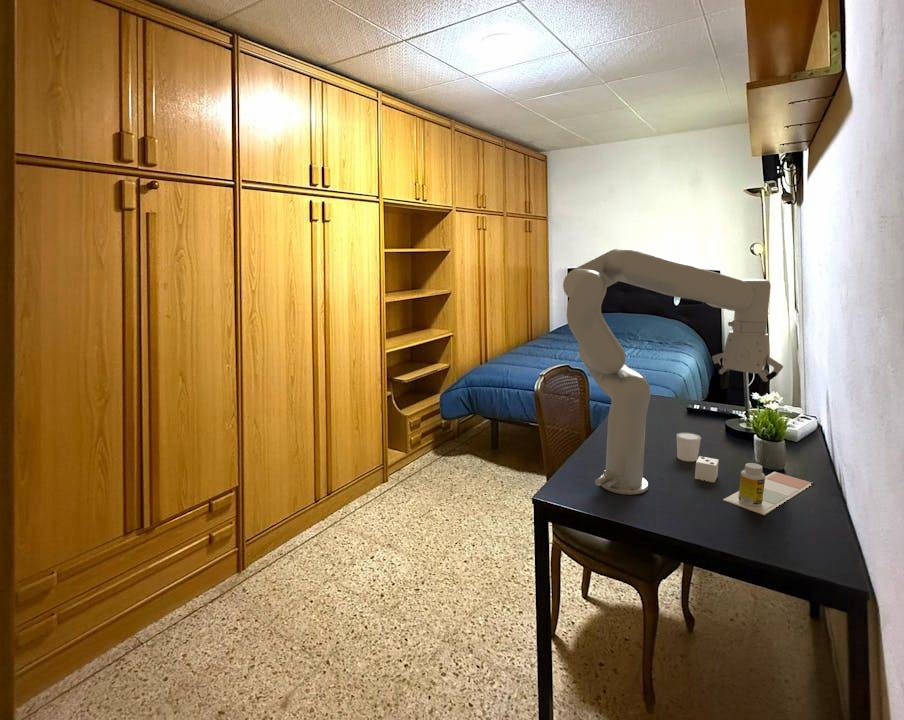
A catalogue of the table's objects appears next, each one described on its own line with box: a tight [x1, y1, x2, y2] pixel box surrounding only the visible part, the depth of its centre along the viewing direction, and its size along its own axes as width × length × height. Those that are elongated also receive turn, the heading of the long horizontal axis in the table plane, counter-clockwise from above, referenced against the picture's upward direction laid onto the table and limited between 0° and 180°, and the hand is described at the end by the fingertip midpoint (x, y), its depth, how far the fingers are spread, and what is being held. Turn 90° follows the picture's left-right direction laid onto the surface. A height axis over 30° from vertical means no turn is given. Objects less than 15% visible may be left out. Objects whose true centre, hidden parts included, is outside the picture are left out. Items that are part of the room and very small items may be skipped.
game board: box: [722, 471, 812, 516], centre depth 142 cm, size 28×10×1 cm, turn 126°
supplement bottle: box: [738, 462, 766, 506], centre depth 135 cm, size 5×5×10 cm
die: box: [694, 455, 720, 484], centre depth 152 cm, size 5×5×5 cm
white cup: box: [676, 432, 702, 462], centre depth 165 cm, size 7×7×7 cm
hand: (743, 391), depth 144 cm, fingers open, 9 cm apart
